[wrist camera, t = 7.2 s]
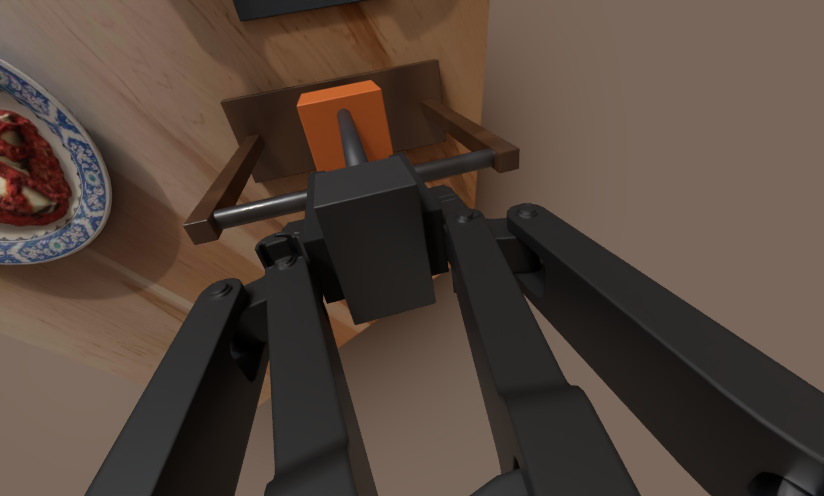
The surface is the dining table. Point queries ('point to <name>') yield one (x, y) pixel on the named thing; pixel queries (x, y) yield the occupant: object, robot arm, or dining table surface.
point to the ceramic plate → (46, 175)
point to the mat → (280, 7)
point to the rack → (290, 153)
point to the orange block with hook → (366, 203)
